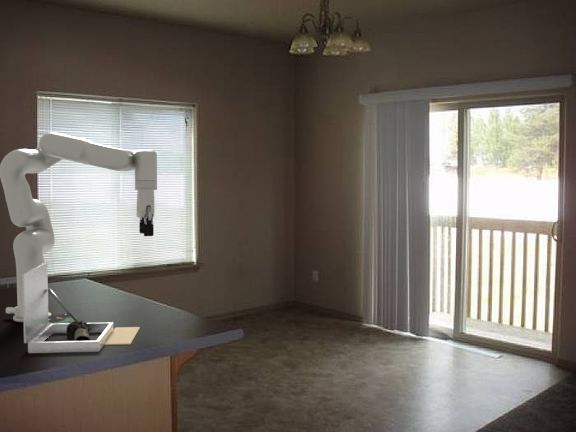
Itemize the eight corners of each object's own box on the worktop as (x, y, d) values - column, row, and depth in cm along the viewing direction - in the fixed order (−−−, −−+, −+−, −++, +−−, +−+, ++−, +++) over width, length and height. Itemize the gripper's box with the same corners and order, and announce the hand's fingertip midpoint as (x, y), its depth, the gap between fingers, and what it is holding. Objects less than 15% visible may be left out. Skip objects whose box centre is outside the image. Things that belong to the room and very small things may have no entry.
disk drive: (38, 324, 217) (49, 333, 205) (38, 316, 217) (49, 324, 205) (68, 320, 223) (81, 328, 211) (68, 312, 223) (81, 320, 211)
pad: (103, 345, 189) (103, 343, 189) (115, 328, 209) (115, 327, 209) (130, 344, 190) (130, 343, 190) (139, 328, 209) (139, 326, 209)
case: (24, 353, 180) (22, 274, 179) (47, 332, 203) (45, 262, 202) (99, 351, 182) (97, 273, 181) (113, 331, 205) (112, 261, 204)
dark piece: (91, 349, 186) (91, 330, 186) (67, 351, 184) (67, 332, 183) (88, 334, 203) (88, 317, 202) (66, 336, 200) (66, 318, 200)
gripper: (131, 185, 224) (131, 232, 225) (138, 186, 208) (139, 237, 209) (152, 185, 227) (152, 232, 228) (161, 186, 211) (161, 236, 212)
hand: (146, 234), depth 219 cm, fingers open, 9 cm apart
